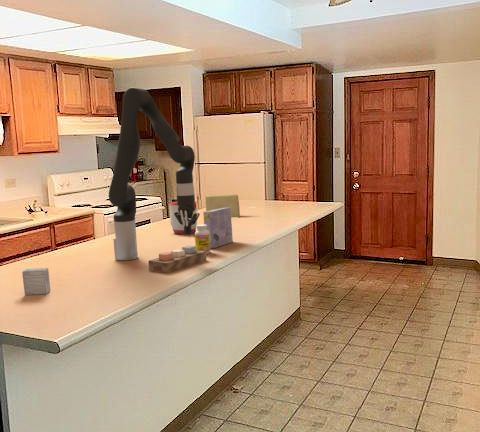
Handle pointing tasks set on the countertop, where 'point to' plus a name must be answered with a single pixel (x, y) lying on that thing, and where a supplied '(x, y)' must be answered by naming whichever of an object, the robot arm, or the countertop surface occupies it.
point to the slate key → (189, 249)
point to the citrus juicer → (175, 223)
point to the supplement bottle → (202, 238)
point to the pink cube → (165, 256)
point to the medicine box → (36, 281)
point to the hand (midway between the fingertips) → (188, 234)
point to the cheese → (223, 203)
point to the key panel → (177, 262)
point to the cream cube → (178, 253)
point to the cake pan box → (219, 226)
